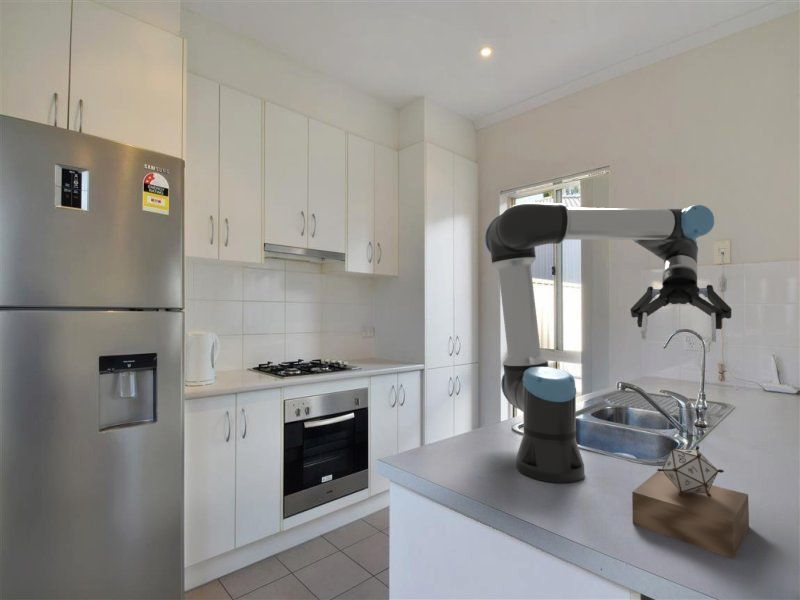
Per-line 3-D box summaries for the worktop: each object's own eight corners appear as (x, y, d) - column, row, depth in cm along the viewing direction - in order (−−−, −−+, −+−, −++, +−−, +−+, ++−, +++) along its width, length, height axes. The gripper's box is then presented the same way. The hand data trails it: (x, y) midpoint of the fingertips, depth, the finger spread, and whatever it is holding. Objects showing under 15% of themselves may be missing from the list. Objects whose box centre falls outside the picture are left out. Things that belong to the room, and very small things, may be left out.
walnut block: (632, 526, 72) (632, 491, 73) (657, 501, 82) (657, 471, 82) (733, 561, 62) (732, 521, 62) (749, 529, 71) (748, 494, 72)
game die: (702, 520, 70) (727, 488, 64) (647, 491, 74) (666, 458, 69) (710, 481, 75) (733, 448, 70) (658, 456, 80) (677, 423, 74)
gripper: (740, 285, 102) (746, 350, 90) (627, 288, 117) (619, 344, 105) (741, 262, 98) (747, 326, 86) (624, 268, 113) (615, 324, 101)
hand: (677, 336), depth 95 cm, fingers open, 13 cm apart
